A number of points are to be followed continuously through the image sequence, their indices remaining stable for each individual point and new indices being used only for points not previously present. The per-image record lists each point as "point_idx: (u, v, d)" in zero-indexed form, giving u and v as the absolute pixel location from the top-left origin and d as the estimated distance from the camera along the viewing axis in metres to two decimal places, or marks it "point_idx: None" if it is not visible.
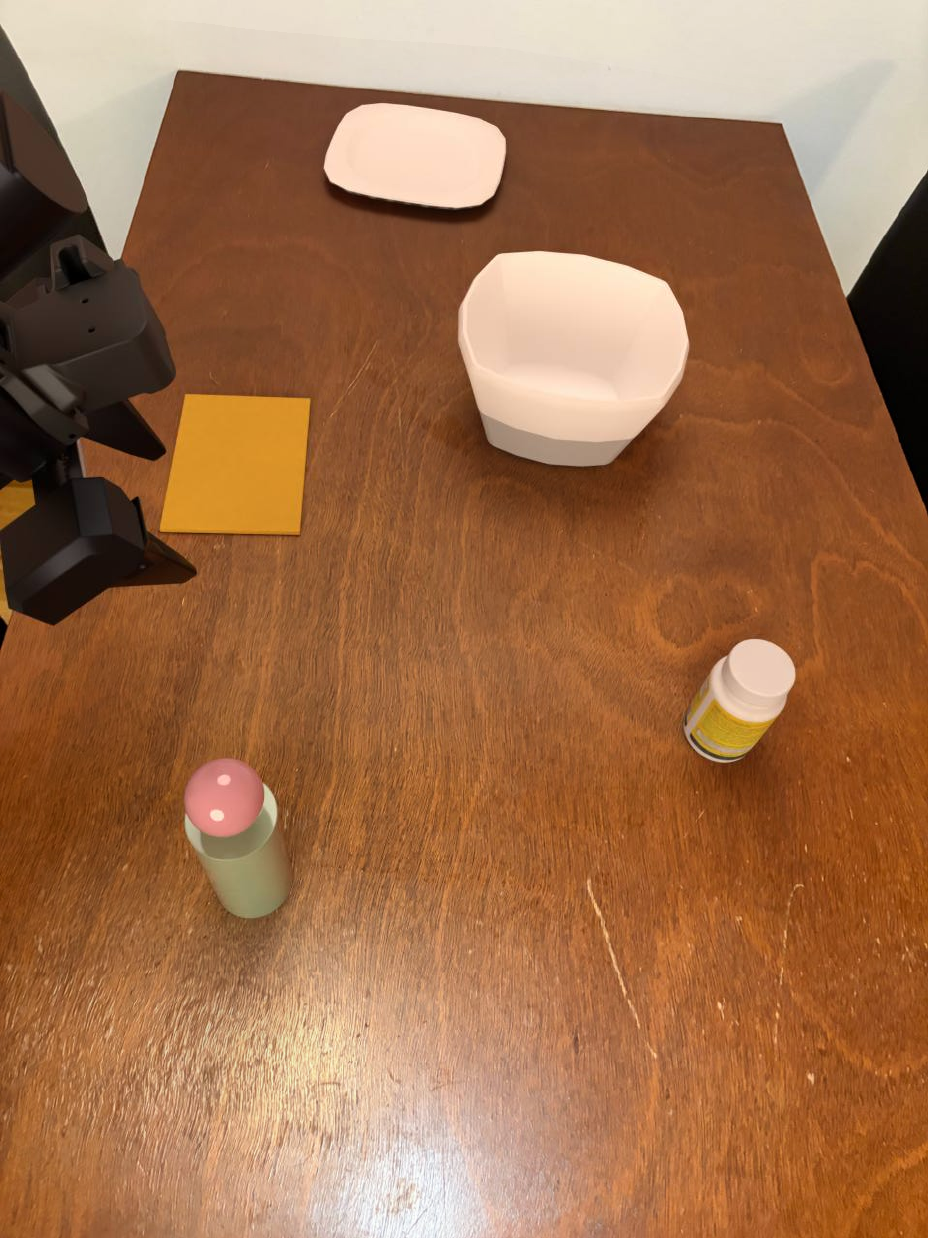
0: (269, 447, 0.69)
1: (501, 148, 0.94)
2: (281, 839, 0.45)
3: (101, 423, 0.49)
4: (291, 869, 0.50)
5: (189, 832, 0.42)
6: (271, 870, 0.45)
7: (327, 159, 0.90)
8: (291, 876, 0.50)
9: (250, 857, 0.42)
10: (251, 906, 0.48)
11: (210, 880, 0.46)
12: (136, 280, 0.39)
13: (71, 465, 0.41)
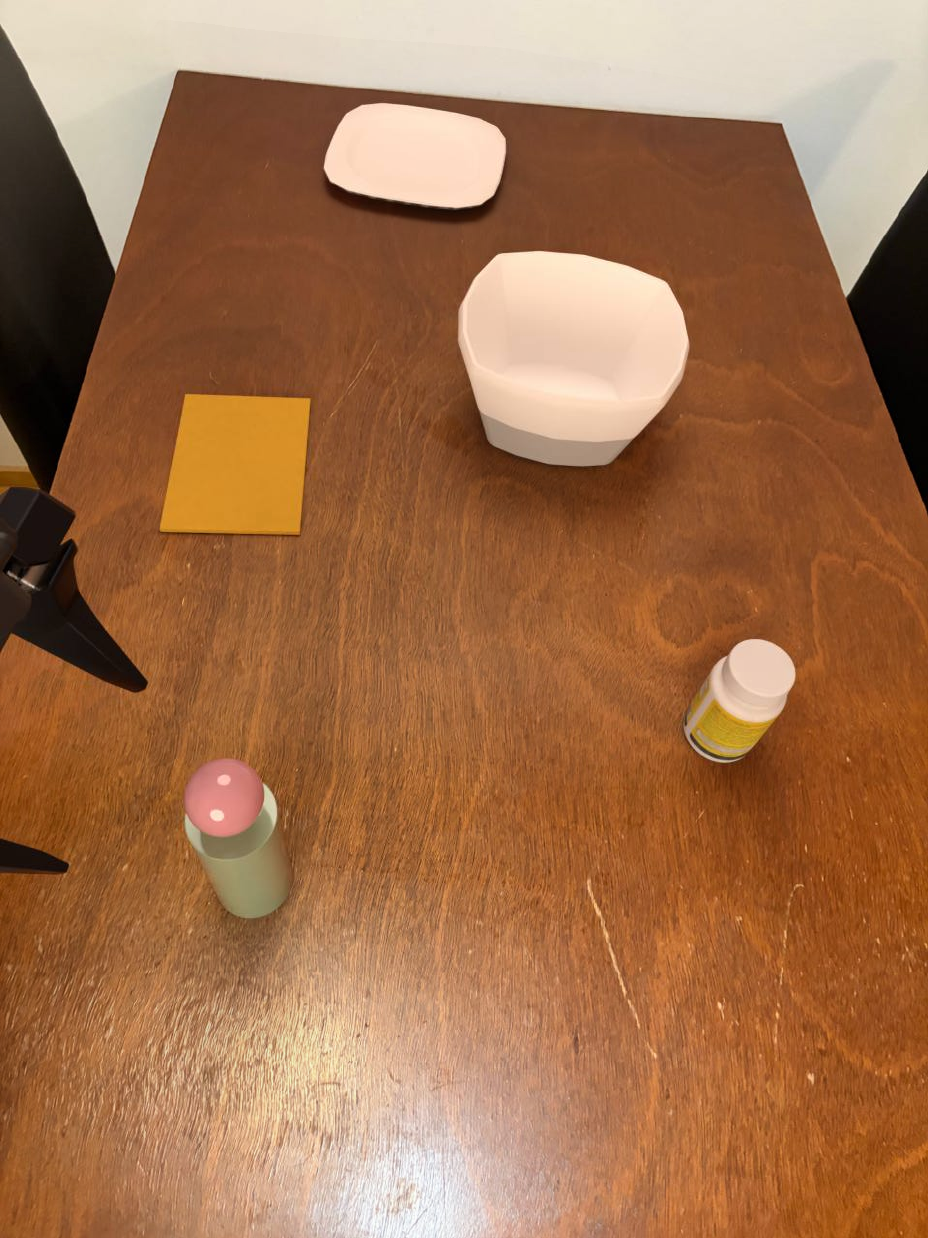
0: (269, 447, 0.69)
1: (501, 148, 0.94)
2: (281, 839, 0.45)
3: (67, 648, 0.42)
4: (291, 869, 0.50)
5: (189, 833, 0.42)
6: (271, 870, 0.45)
7: (327, 159, 0.90)
8: (291, 876, 0.50)
9: (250, 857, 0.42)
10: (251, 906, 0.48)
11: (210, 880, 0.46)
12: None
13: None
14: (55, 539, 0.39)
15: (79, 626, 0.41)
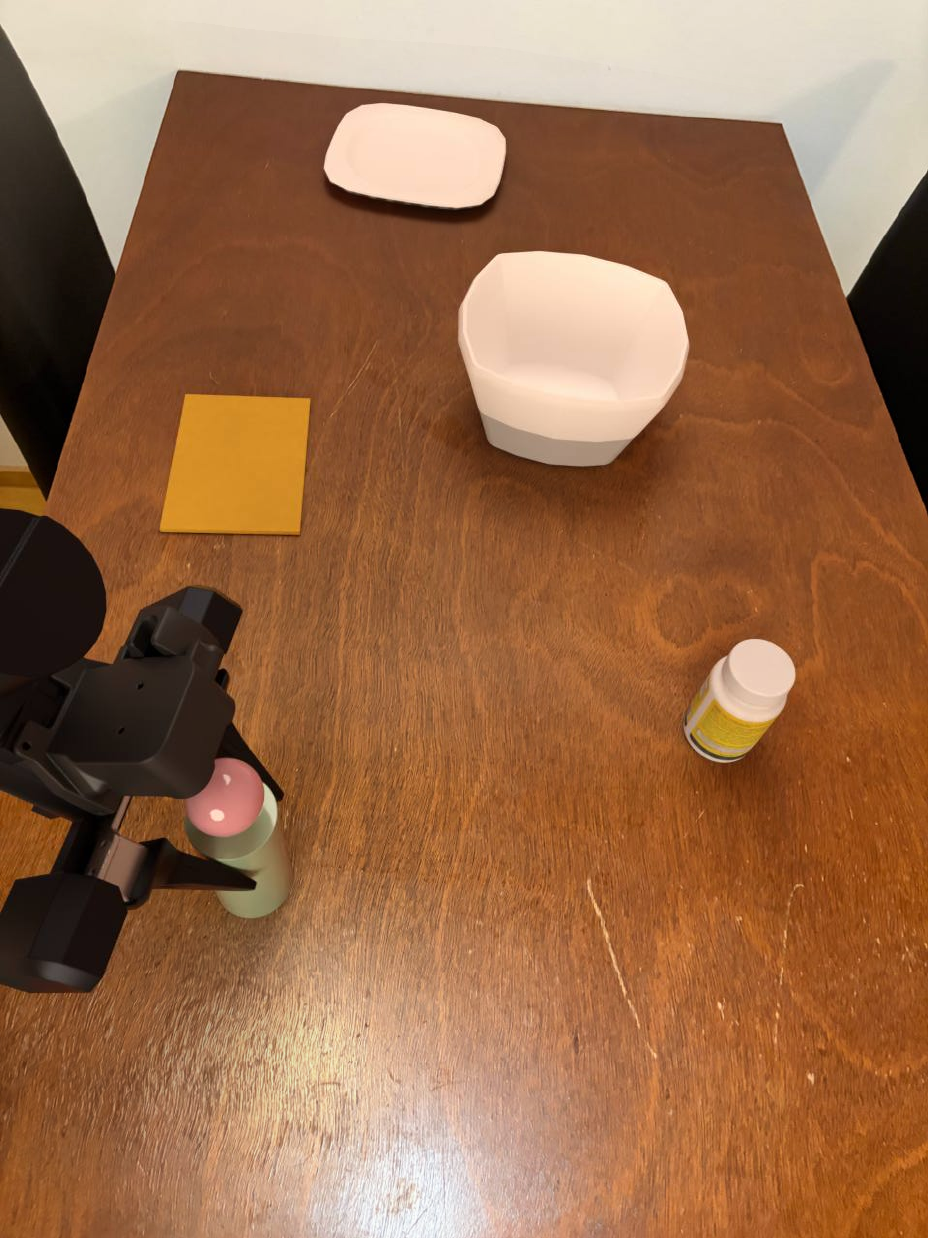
0: (269, 447, 0.69)
1: (501, 148, 0.94)
2: (281, 839, 0.45)
3: None
4: (291, 869, 0.50)
5: (189, 832, 0.42)
6: (271, 869, 0.45)
7: (327, 159, 0.90)
8: (291, 876, 0.50)
9: (250, 857, 0.42)
10: (251, 906, 0.48)
11: None
12: (190, 680, 0.34)
13: None
14: (228, 634, 0.43)
15: (229, 749, 0.43)
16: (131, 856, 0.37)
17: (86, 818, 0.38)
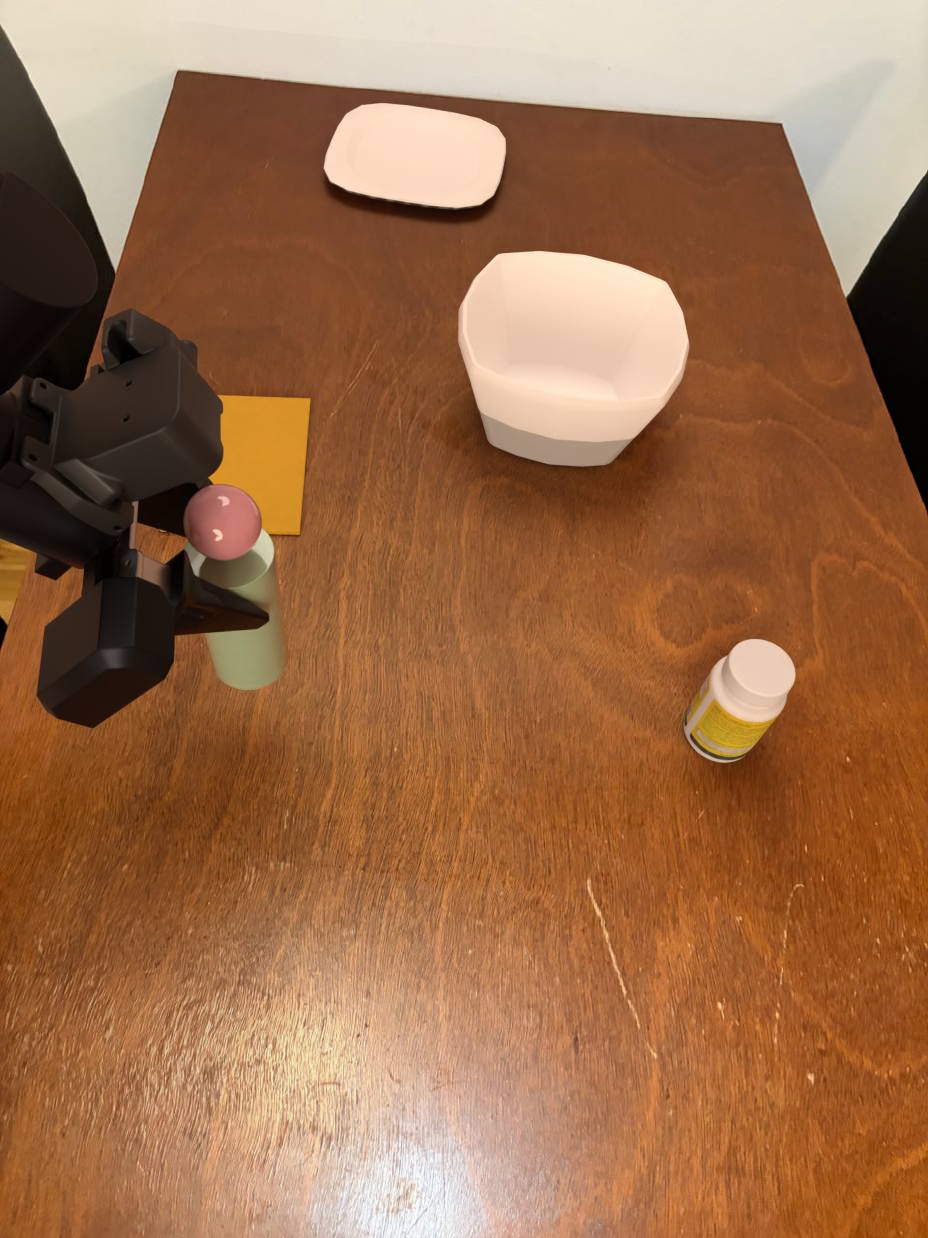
0: (269, 447, 0.69)
1: (501, 148, 0.94)
2: None
3: None
4: None
5: None
6: (276, 611, 0.47)
7: (327, 159, 0.90)
8: None
9: (260, 582, 0.43)
10: (261, 665, 0.49)
11: (218, 640, 0.47)
12: (180, 359, 0.35)
13: None
14: None
15: None
16: (157, 571, 0.38)
17: (100, 549, 0.38)
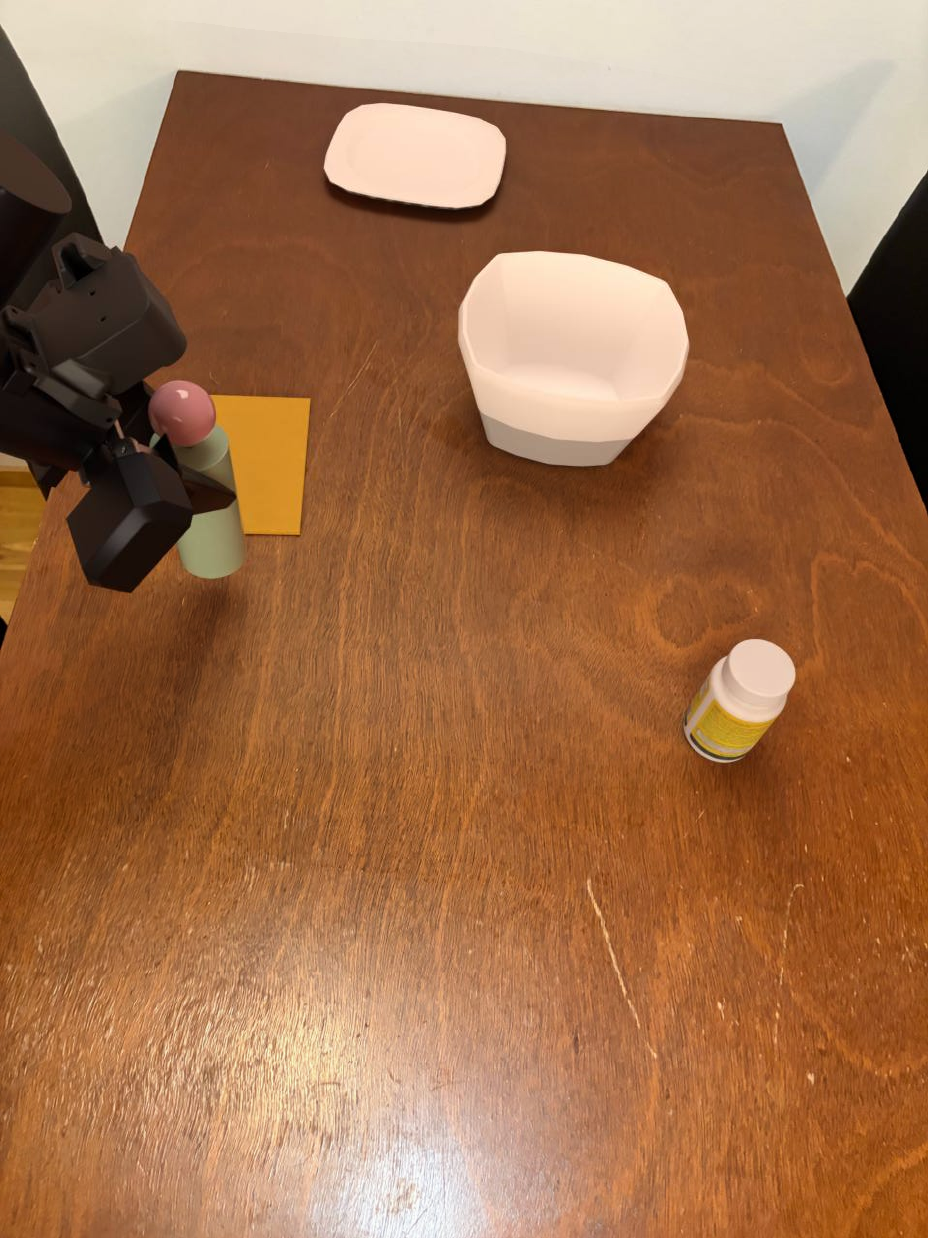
0: (269, 447, 0.69)
1: (501, 148, 0.94)
2: None
3: (147, 429, 0.52)
4: None
5: None
6: (236, 493, 0.54)
7: (327, 159, 0.90)
8: None
9: (223, 461, 0.51)
10: (230, 549, 0.56)
11: (192, 530, 0.54)
12: (133, 263, 0.42)
13: None
14: None
15: None
16: (149, 453, 0.45)
17: (95, 446, 0.44)
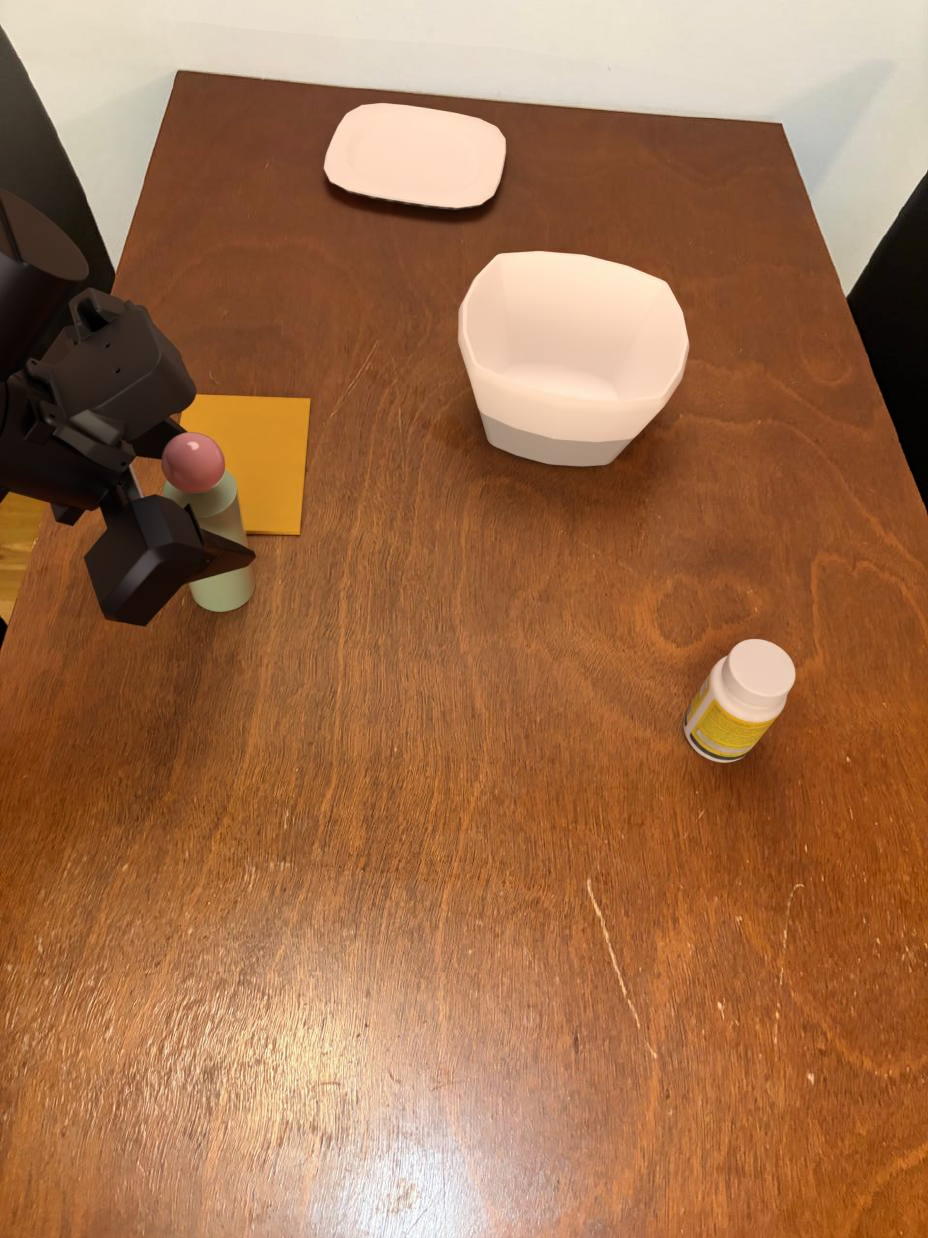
0: (269, 447, 0.69)
1: (501, 148, 0.94)
2: None
3: (148, 440, 0.55)
4: None
5: None
6: (244, 533, 0.57)
7: (327, 159, 0.90)
8: None
9: (232, 506, 0.54)
10: (238, 584, 0.59)
11: None
12: (145, 317, 0.45)
13: (129, 488, 0.47)
14: None
15: None
16: None
17: (110, 487, 0.47)
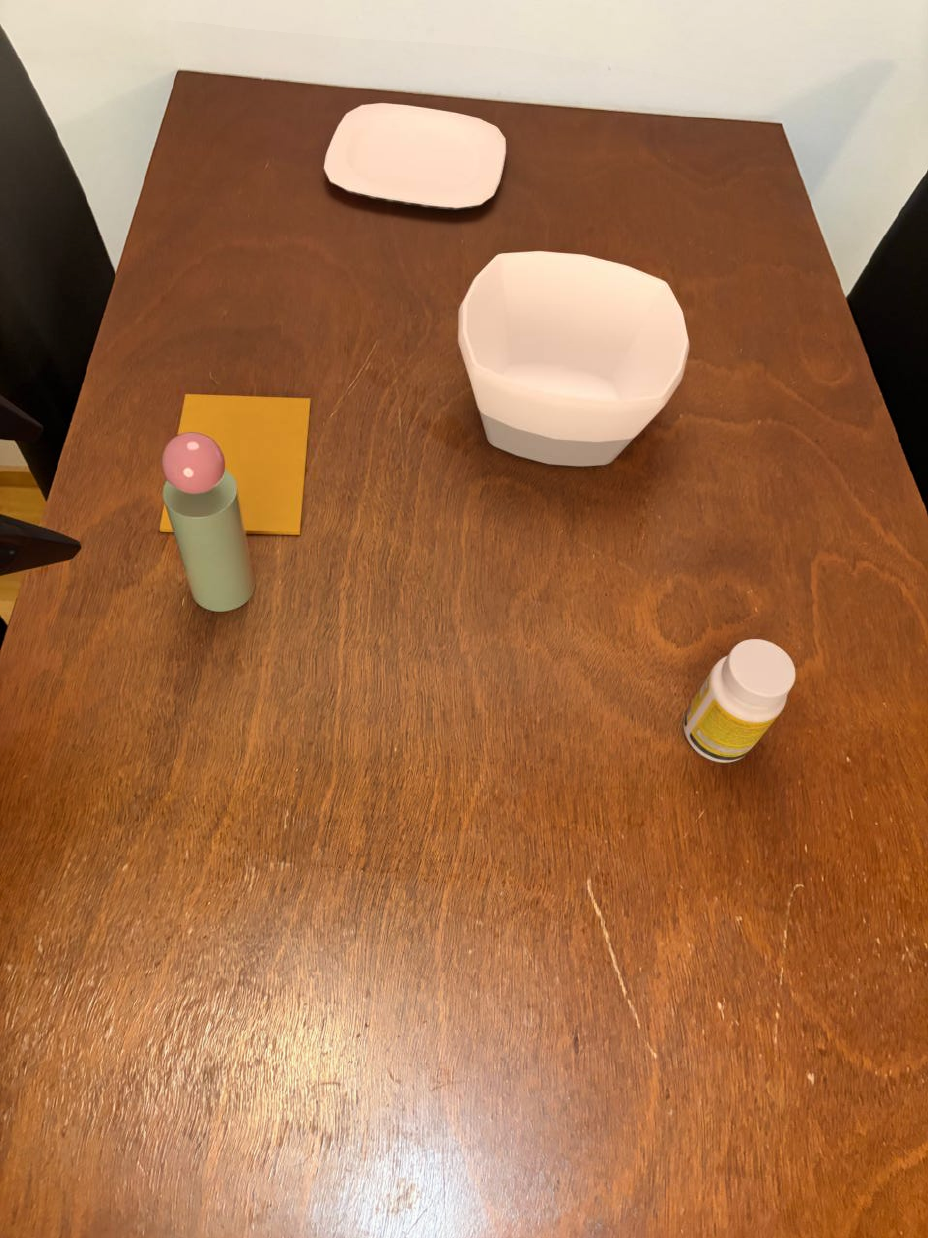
0: (269, 447, 0.69)
1: (501, 148, 0.94)
2: None
3: None
4: None
5: (179, 511, 0.53)
6: (244, 533, 0.57)
7: (327, 159, 0.90)
8: None
9: (232, 506, 0.54)
10: (238, 584, 0.59)
11: (202, 568, 0.57)
12: None
13: None
14: None
15: None
16: None
17: None
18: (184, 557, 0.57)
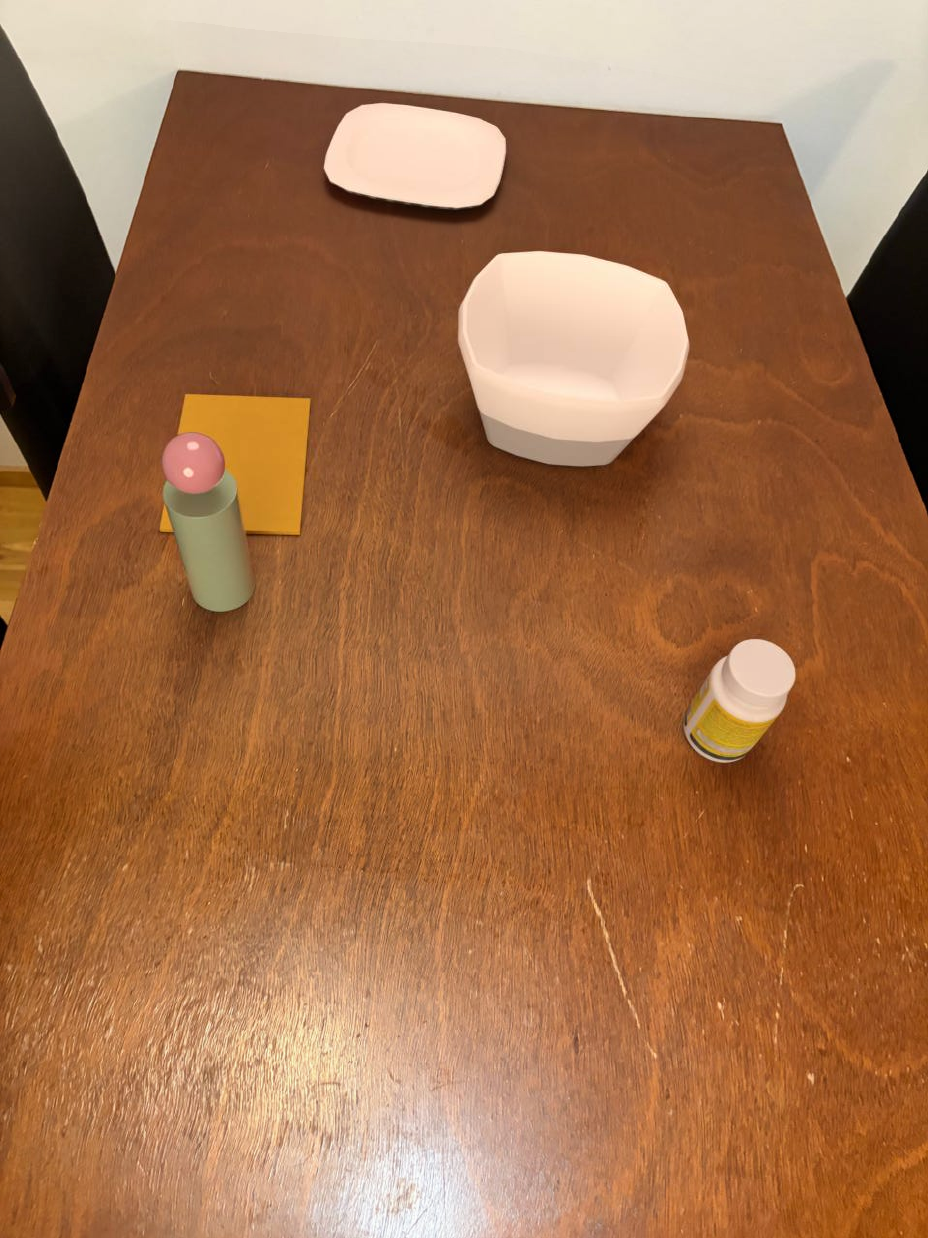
0: (269, 447, 0.69)
1: (501, 148, 0.94)
2: None
3: None
4: None
5: (179, 511, 0.53)
6: (244, 533, 0.57)
7: (327, 159, 0.90)
8: None
9: (232, 506, 0.54)
10: (238, 584, 0.59)
11: (202, 568, 0.57)
12: None
13: None
14: None
15: None
16: None
17: None
18: (184, 557, 0.57)
